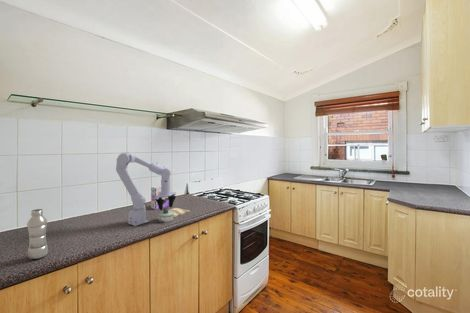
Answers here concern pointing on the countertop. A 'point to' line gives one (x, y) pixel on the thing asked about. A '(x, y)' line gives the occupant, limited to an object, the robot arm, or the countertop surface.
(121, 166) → the robot arm
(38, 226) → the plastic bottle
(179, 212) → the board
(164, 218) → the tin
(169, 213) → the lid
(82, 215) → the countertop surface
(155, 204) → the candy box
